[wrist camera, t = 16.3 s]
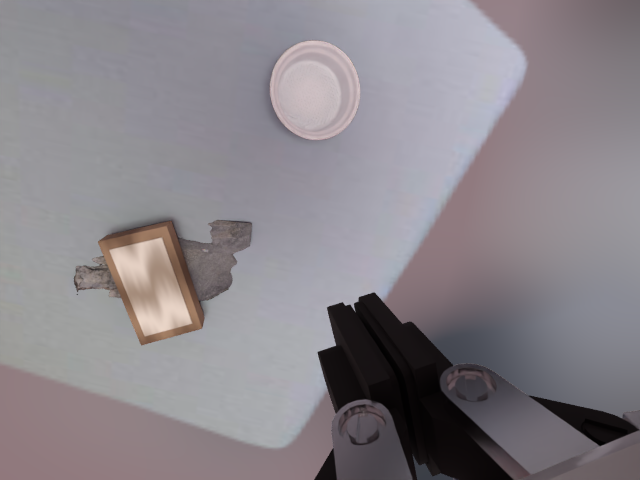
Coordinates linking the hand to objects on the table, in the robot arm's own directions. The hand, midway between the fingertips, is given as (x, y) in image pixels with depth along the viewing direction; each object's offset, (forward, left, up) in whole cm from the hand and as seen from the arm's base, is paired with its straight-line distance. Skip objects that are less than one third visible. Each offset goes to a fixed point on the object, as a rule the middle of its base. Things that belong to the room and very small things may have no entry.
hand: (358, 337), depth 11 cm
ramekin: (-10, +6, -29) cm, 32 cm away
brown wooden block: (+5, -12, -27) cm, 30 cm away
